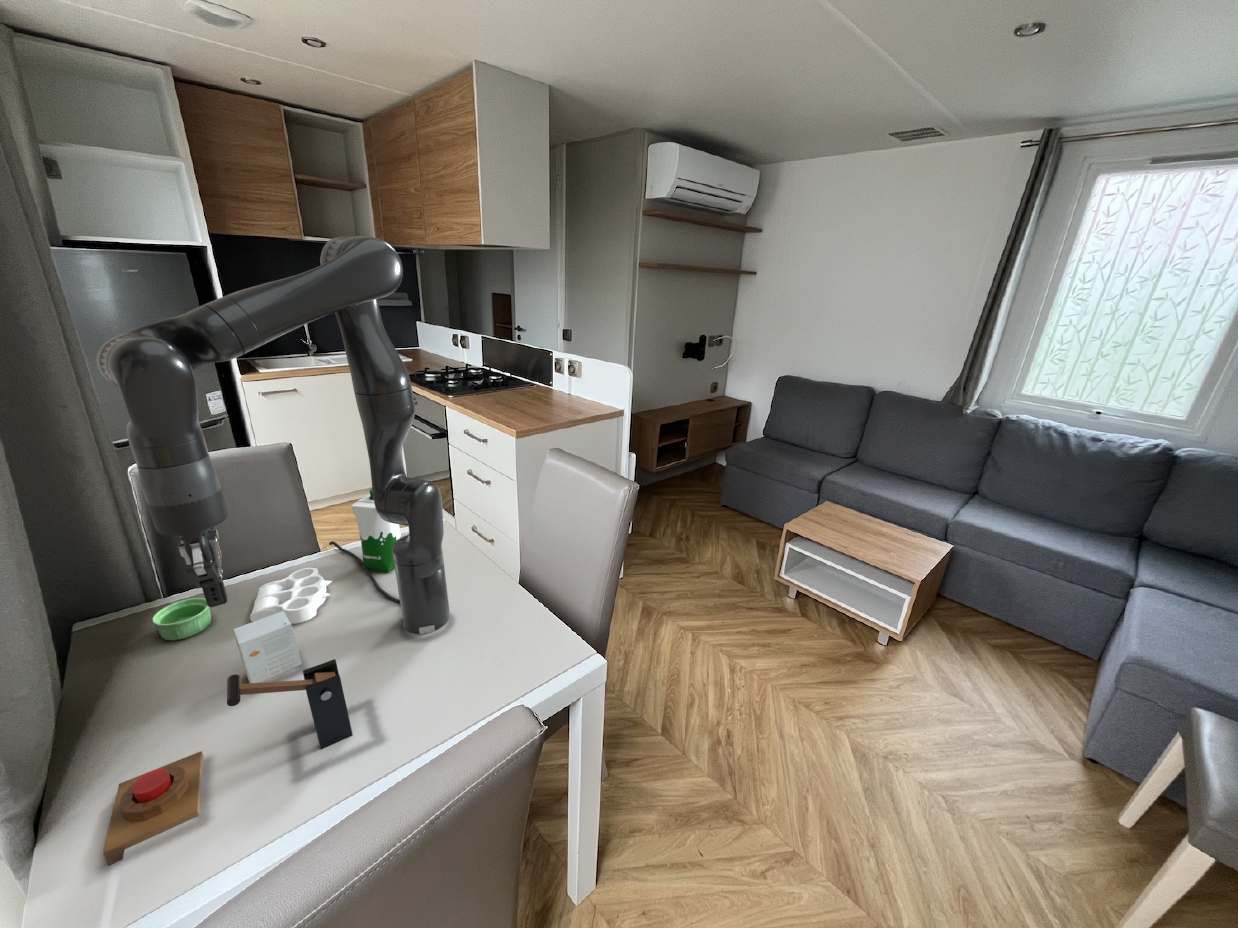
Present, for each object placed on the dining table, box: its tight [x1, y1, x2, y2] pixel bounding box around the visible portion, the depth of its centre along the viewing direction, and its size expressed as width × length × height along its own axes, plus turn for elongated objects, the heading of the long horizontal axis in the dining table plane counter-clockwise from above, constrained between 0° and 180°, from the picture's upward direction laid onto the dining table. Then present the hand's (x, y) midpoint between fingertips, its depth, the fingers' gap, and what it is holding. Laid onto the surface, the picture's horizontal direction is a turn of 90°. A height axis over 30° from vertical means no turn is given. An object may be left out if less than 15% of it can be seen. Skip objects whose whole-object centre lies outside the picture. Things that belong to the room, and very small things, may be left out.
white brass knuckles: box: [249, 567, 333, 625], centre depth 111 cm, size 3×18×15 cm
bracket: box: [302, 658, 354, 750], centre depth 76 cm, size 11×9×13 cm
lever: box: [226, 672, 336, 707], centre depth 71 cm, size 13×5×2 cm, turn 125°
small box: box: [232, 611, 303, 683], centre depth 89 cm, size 8×6×10 cm
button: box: [132, 768, 172, 803], centre depth 66 cm, size 4×4×2 cm
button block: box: [102, 750, 204, 866], centre depth 67 cm, size 11×9×4 cm
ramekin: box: [151, 597, 212, 641], centre depth 101 cm, size 9×9×4 cm
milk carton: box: [350, 488, 402, 573], centre depth 124 cm, size 9×9×20 cm
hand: (218, 602), depth 70 cm, fingers closed
